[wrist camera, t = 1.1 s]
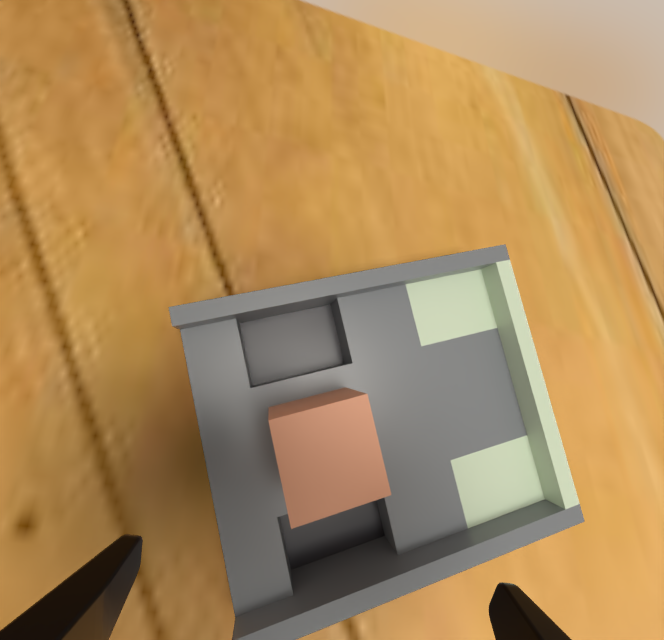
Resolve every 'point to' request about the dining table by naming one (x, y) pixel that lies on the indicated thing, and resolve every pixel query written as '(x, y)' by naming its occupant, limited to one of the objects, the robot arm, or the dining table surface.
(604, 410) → the dining table surface
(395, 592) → the box
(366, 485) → the block
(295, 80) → the dining table surface
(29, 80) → the dining table surface
